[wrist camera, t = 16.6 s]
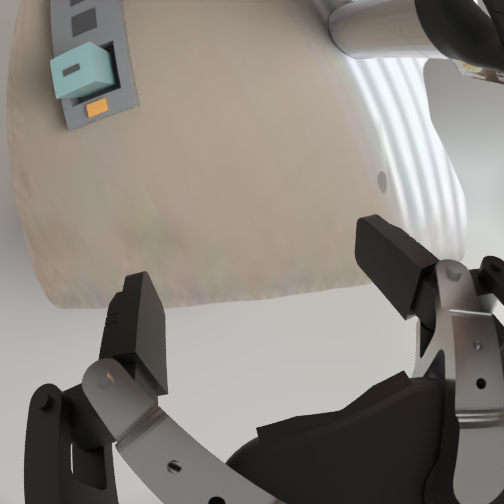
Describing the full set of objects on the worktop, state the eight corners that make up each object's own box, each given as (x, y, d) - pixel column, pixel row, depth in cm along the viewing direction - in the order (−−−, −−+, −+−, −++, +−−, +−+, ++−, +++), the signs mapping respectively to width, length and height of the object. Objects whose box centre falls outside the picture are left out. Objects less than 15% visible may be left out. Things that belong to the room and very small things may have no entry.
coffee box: (469, 61, 32) (530, 73, 18) (460, 76, 34) (524, 92, 20) (449, 26, 27) (514, 31, 14) (439, 41, 29) (508, 47, 16)
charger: (111, 53, 23) (88, 41, 16) (117, 84, 26) (95, 80, 18) (79, 66, 23) (48, 60, 15) (85, 97, 25) (55, 99, 18)
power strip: (58, -6, 15) (48, -12, 12) (119, -31, 16) (114, -41, 13) (76, 128, 27) (66, 132, 24) (139, 105, 29) (135, 106, 26)
